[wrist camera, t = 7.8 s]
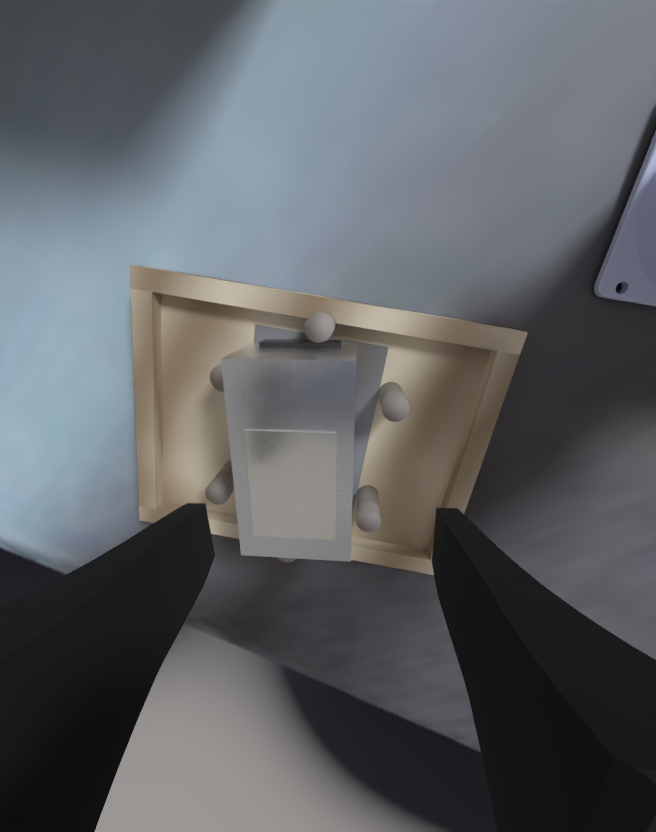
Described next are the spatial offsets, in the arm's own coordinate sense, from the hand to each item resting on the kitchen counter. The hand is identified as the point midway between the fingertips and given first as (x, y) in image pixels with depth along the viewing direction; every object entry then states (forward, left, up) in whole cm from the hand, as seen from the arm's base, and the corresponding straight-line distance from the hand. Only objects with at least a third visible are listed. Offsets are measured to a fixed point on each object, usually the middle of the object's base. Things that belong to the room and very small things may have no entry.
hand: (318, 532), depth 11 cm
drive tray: (+1, 0, -9) cm, 9 cm away
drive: (+2, 0, -8) cm, 8 cm away
